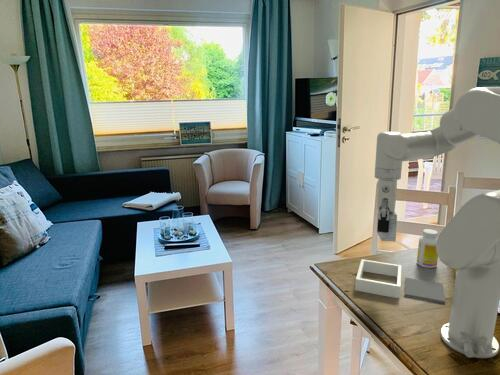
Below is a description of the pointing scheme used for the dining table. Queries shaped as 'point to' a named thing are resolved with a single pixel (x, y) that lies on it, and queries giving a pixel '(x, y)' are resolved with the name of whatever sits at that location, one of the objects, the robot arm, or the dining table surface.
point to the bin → (377, 286)
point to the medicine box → (392, 228)
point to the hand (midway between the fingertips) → (383, 226)
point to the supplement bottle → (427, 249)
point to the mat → (424, 290)
